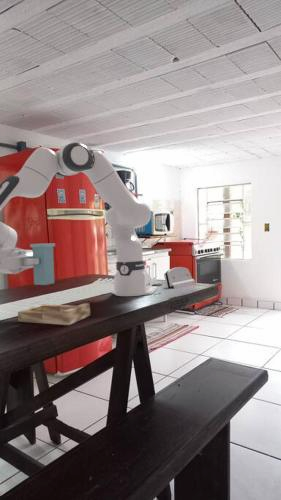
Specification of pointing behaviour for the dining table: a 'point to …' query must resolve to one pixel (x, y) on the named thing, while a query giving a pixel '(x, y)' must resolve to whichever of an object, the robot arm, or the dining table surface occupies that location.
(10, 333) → the dining table surface
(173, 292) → the dining table surface
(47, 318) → the keyhole board
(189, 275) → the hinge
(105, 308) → the dining table surface
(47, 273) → the post
